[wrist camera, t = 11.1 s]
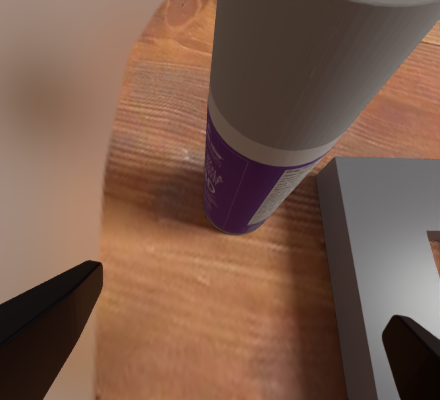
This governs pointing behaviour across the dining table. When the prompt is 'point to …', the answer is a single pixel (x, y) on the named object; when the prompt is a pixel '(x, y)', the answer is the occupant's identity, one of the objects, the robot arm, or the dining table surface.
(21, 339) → the robot arm
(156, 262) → the dining table surface
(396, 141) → the dining table surface
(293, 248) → the dining table surface
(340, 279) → the socket block
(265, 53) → the container
